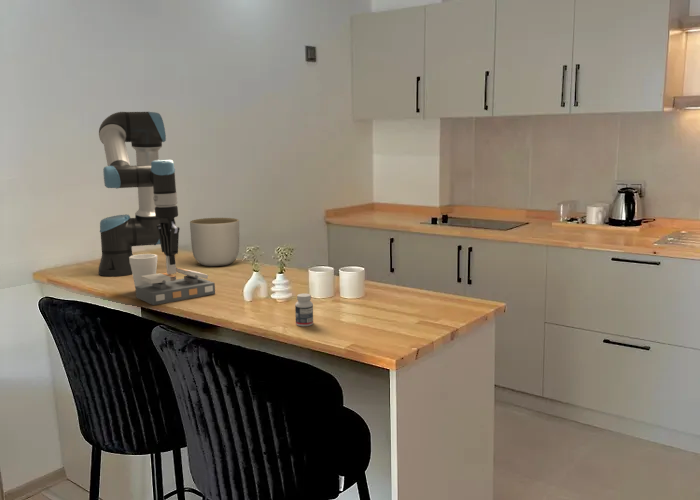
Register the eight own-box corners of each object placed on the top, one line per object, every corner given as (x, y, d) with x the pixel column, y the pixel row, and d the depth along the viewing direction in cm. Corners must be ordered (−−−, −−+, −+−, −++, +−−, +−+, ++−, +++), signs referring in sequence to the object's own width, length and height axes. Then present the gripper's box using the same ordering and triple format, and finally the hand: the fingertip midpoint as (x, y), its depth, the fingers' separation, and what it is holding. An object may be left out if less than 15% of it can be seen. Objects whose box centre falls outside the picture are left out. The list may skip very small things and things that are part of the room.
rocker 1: (141, 281, 224) (140, 275, 223) (165, 278, 229) (165, 272, 229) (151, 285, 217) (151, 279, 217) (176, 282, 223) (176, 276, 223)
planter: (235, 268, 274) (234, 223, 270) (186, 268, 274) (184, 224, 271) (244, 259, 294) (242, 217, 291) (198, 259, 294) (196, 217, 291)
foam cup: (162, 292, 233) (159, 257, 230) (135, 296, 228) (133, 259, 226) (155, 287, 241) (152, 253, 238) (129, 290, 236) (126, 255, 234)
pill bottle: (295, 321, 195) (295, 293, 194) (313, 321, 196) (312, 292, 194) (295, 326, 190) (295, 297, 189) (313, 326, 191) (313, 296, 189)
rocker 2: (173, 272, 231) (174, 267, 231) (195, 276, 237) (197, 271, 237) (184, 276, 225) (185, 270, 225) (207, 280, 231) (208, 275, 231)
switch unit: (136, 297, 226) (135, 281, 225) (196, 287, 241) (195, 272, 240) (153, 305, 215) (152, 288, 214) (215, 294, 230) (214, 278, 229)
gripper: (147, 205, 224) (153, 272, 228) (164, 208, 214) (170, 278, 219) (167, 203, 229) (173, 269, 233) (185, 205, 219) (190, 274, 223)
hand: (171, 273), depth 226 cm, fingers closed
